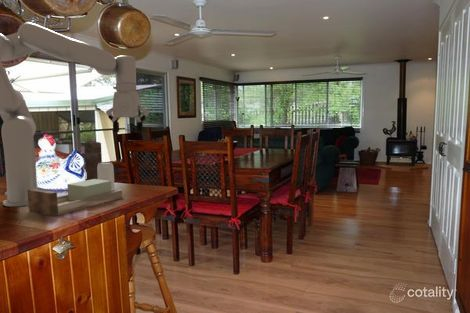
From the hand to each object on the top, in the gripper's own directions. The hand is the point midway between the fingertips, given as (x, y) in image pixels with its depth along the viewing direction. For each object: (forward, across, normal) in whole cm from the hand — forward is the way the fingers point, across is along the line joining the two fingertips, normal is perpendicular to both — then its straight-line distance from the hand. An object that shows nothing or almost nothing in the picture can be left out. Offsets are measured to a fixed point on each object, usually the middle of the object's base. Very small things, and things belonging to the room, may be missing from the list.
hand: (128, 132), depth 146 cm
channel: (+25, -11, -19) cm, 33 cm away
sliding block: (+24, -9, -14) cm, 29 cm away
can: (+25, -12, +4) cm, 28 cm away
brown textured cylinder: (+25, -24, +16) cm, 38 cm away
